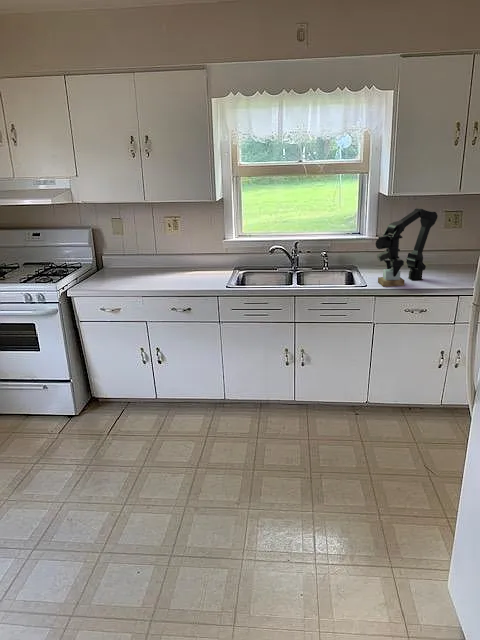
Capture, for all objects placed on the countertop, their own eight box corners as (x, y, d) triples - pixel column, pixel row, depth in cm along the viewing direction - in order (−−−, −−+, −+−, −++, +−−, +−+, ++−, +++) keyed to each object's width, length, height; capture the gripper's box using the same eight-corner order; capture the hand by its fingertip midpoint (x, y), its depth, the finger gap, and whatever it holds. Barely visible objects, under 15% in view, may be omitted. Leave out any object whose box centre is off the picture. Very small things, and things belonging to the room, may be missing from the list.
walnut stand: (398, 281, 274) (398, 276, 273) (404, 285, 266) (404, 280, 265) (377, 282, 274) (378, 277, 273) (383, 286, 265) (383, 281, 264)
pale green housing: (382, 277, 272) (383, 268, 270) (396, 277, 271) (397, 267, 270) (385, 280, 266) (386, 270, 264) (399, 279, 266) (400, 270, 264)
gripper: (373, 244, 271) (372, 271, 277) (384, 251, 254) (382, 279, 259) (392, 243, 272) (391, 270, 277) (405, 250, 254) (403, 278, 259)
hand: (391, 274), depth 268 cm, fingers open, 9 cm apart
